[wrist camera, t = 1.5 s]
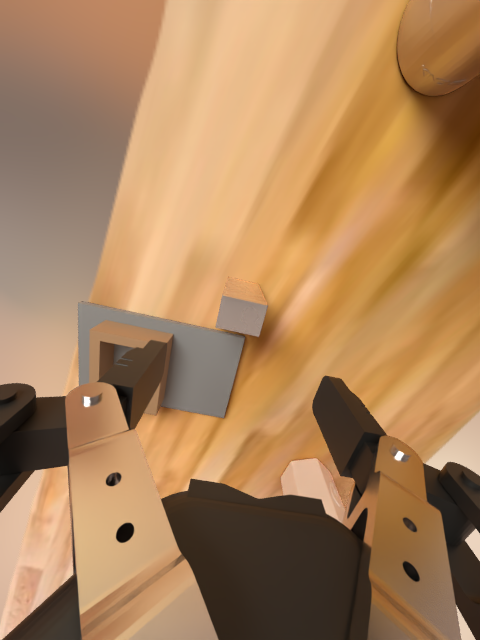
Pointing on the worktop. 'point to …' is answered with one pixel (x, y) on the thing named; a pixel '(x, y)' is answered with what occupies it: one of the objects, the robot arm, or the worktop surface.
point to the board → (181, 358)
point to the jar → (313, 485)
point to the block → (242, 307)
